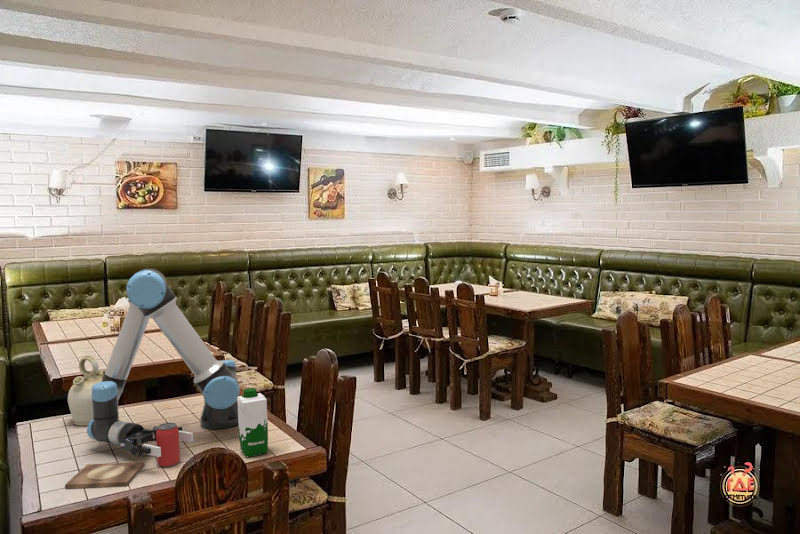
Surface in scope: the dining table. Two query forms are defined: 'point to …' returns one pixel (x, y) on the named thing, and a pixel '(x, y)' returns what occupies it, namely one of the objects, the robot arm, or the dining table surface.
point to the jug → (84, 392)
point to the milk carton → (253, 423)
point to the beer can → (168, 444)
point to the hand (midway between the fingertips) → (176, 444)
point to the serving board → (105, 475)
